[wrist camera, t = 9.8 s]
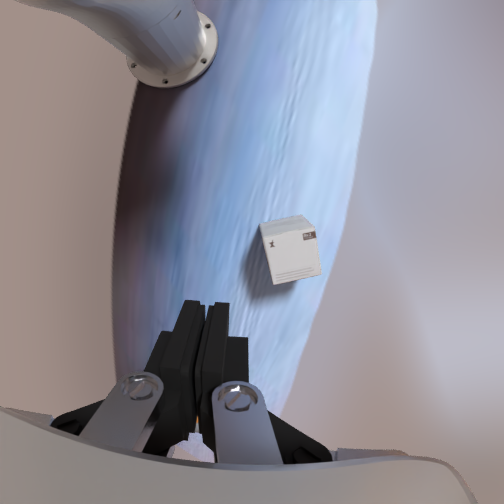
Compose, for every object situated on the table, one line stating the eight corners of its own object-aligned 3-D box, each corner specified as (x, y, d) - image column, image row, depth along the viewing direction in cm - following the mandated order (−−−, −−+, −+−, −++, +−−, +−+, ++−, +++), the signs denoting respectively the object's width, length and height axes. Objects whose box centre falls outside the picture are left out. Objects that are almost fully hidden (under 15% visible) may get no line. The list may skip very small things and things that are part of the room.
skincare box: (267, 264, 41) (272, 287, 34) (258, 222, 39) (261, 237, 32) (310, 255, 41) (323, 275, 34) (302, 213, 39) (315, 225, 32)
